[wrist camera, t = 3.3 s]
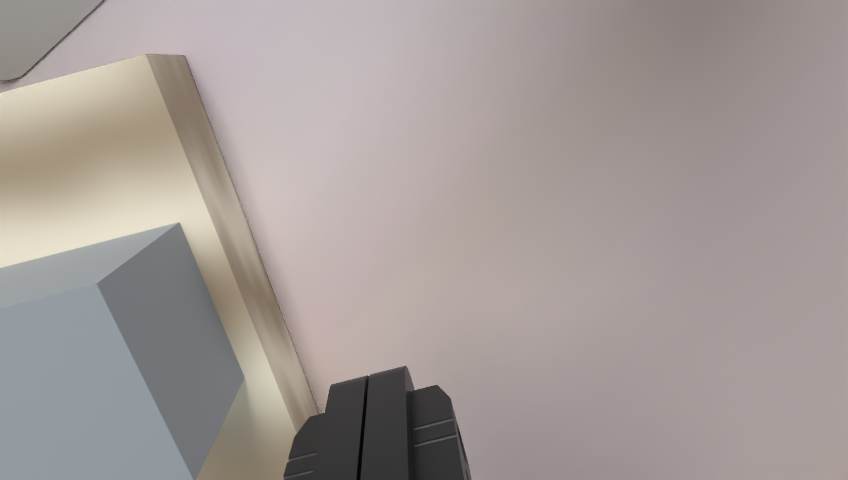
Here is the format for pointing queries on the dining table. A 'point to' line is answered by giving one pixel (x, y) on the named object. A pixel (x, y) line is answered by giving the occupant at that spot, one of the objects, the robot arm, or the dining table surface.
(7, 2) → the bracket
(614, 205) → the dining table surface
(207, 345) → the grey block
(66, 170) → the tunnel deck
